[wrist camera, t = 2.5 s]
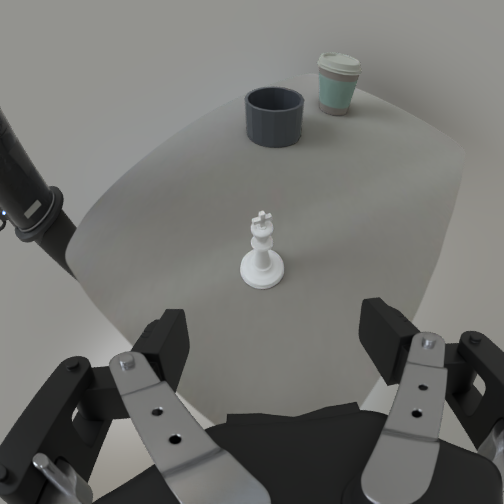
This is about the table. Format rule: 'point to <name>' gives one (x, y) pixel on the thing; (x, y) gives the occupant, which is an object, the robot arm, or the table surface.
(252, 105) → the tumbler
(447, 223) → the table surface
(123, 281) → the table surface
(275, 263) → the chess piece
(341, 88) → the coffee cup
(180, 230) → the table surface
